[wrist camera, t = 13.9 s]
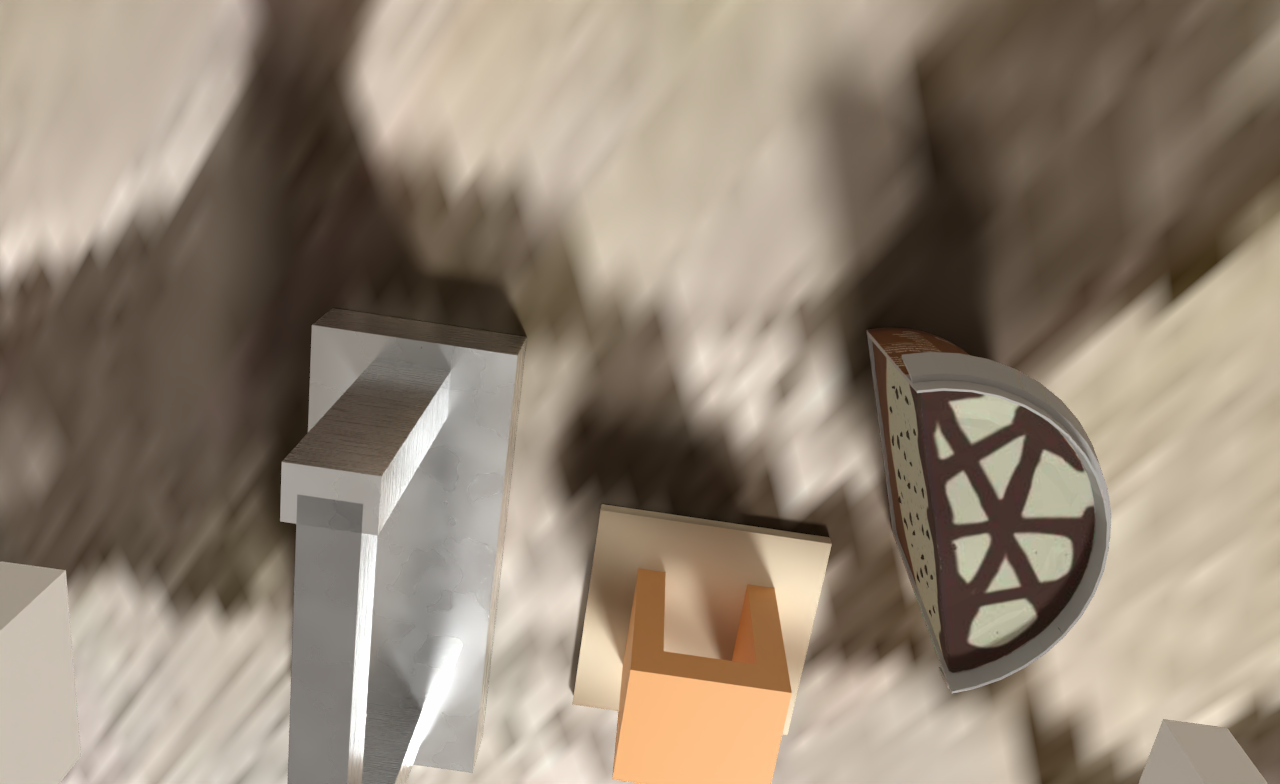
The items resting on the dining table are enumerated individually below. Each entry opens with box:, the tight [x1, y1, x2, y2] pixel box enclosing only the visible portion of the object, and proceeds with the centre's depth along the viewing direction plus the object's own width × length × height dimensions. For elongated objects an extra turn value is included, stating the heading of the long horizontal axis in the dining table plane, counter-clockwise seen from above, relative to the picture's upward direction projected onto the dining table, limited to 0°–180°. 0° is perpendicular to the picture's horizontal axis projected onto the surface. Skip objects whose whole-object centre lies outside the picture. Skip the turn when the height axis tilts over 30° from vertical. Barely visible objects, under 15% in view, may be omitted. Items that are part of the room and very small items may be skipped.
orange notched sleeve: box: [613, 568, 792, 784], centre depth 43 cm, size 5×6×8 cm
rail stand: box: [280, 308, 527, 784], centre depth 40 cm, size 20×8×12 cm, turn 172°
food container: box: [867, 327, 1111, 693], centre depth 38 cm, size 12×6×10 cm, turn 11°
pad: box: [572, 504, 832, 735], centre depth 46 cm, size 10×10×1 cm
